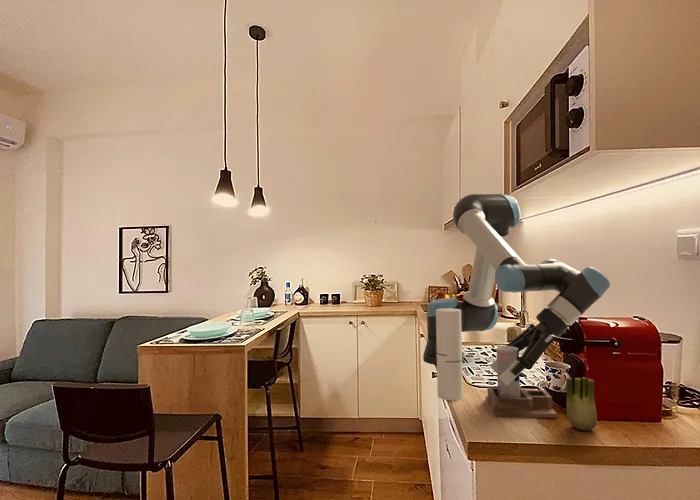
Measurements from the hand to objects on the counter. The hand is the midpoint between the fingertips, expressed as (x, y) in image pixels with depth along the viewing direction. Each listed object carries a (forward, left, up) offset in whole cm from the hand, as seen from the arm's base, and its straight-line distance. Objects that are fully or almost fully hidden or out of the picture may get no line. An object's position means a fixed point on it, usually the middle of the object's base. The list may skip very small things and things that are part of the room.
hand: (497, 375), depth 121 cm
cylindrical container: (-9, -12, -9) cm, 17 cm away
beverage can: (0, +3, -8) cm, 8 cm away
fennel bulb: (+13, +16, -9) cm, 23 cm away
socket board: (0, +5, -9) cm, 10 cm away
